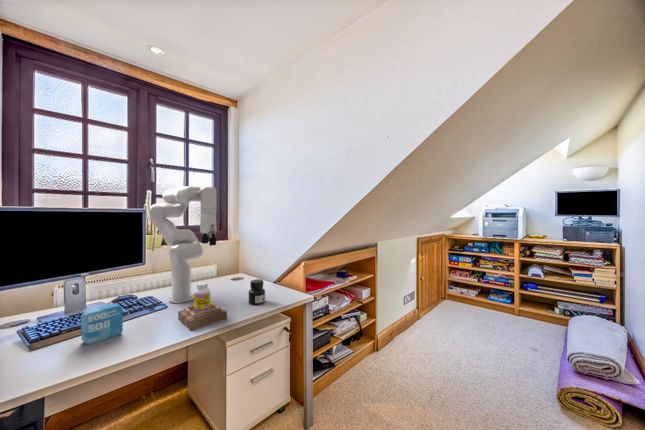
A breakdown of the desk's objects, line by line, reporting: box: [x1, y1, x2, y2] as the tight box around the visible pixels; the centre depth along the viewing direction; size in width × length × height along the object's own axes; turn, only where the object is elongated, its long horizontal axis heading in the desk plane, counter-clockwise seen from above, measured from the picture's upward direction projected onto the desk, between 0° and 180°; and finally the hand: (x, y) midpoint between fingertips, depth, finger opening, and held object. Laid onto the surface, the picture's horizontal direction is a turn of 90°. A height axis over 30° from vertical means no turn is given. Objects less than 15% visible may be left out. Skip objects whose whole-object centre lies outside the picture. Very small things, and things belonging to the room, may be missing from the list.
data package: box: [80, 303, 124, 345], centre depth 106 cm, size 12×4×12 cm, turn 147°
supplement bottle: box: [193, 281, 211, 313], centre depth 123 cm, size 7×7×13 cm
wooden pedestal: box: [177, 301, 228, 331], centre depth 124 cm, size 16×16×6 cm
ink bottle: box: [248, 278, 266, 306], centre depth 146 cm, size 10×9×12 cm
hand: (208, 244), depth 137 cm, fingers open, 9 cm apart
